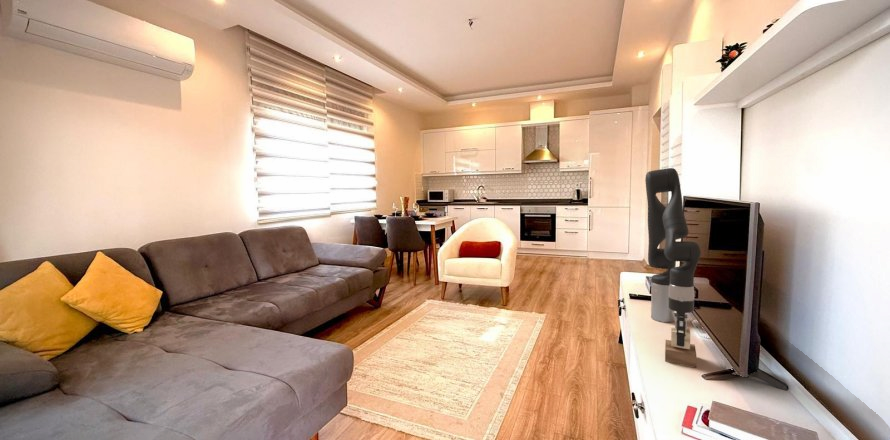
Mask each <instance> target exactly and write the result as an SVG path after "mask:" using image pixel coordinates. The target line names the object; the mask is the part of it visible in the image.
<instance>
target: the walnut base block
mask: <svg viewBox="0 0 890 440" xmlns="http://www.w3.org/2000/svg"><path fill="white" fill-rule="evenodd" d="M664 346H665V347H664V348H665V349H664V350H665V351H664V355H665V356H664V362H666V363H671V364H676V365H682V366H686V367H692V368H697V349H696V345H695V344H693V343H690V349H685V348H679V347H674V346H671V339H665V345H664Z"/></svg>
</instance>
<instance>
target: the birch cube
mask: <svg viewBox="0 0 890 440" xmlns="http://www.w3.org/2000/svg"><path fill="white" fill-rule="evenodd" d="M670 327H671V329H670V330H671V332H670V333H671V335H670V337H671V338H670V340H671V346H674V347H679V348H685V349H690V344H691V328H688V327H687V329H686V330H685V335H686V336H685V338H684V347H682V346H678V345H677V335H676V333H677V329H676V328H675V325H671V326H670ZM678 332H680V333H683V331H680V330H679V331H678Z"/></svg>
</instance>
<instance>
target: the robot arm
mask: <svg viewBox="0 0 890 440" xmlns="http://www.w3.org/2000/svg"><path fill="white" fill-rule="evenodd" d="M644 181H645V189H646V190H645V191H646V199H647V231H648V233H647V234H648V253H647V255H648V256H647V262H648V264H649V265H648V266H649V267H650V268H654V269H664V270H665V269H666V271H664V272H662V273H656V274H654V275H651V281H650V282H651V290H650V291H651V292H650V295H651V298H650V299H651V303H650V305H651V306H650V309H651V310H650V318H651V319H652V320H654V321H657V322H662V323H673V322H674V326H675V328H676V329H677V333H676V335H677V345H678V346H682V347H684V338H685V336H686V335H685V330H686V329H687V328H688V320H689V319H688V318H689V316H688V314H691V313H693V312H694V311H695V287H694V284H695V283H694V281H695V273H696V272H695V271H696V270H697V266H698V263H699V260H700V258H701V254H702V251H701V247H700V245H699V244H698V243H697V242H695V241H693V240H691V241H686V240H684V241H677V240H680V239H684V238H686V237H687V236H688V235H689V228H688V223H687V220H686V217H685V213H684V212H685V211H684V206H683V196H682V190H681V189H682V188H681V182H680V177H679V173H678V171H677V169H676V168H673V167H669V168H663V169H656V170H650V171H648V172H646V175H645V180H644ZM668 192H670V193H671V194H670V195H671V196H670V199H669V201H668V204H667V205H666V206H665V204H663V202H662V201H661V200H660V199H659V198H658V196H657V194H660V193H668ZM664 240H665V244H664V248H658V247H659V246H660V244H661V243H662V242H663V241H664ZM677 262H684V263H683V264H682V265H679V266H676V264H677ZM687 313H688V314H687ZM679 330H680V331H683V333H680V332H678V331H679Z"/></svg>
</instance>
